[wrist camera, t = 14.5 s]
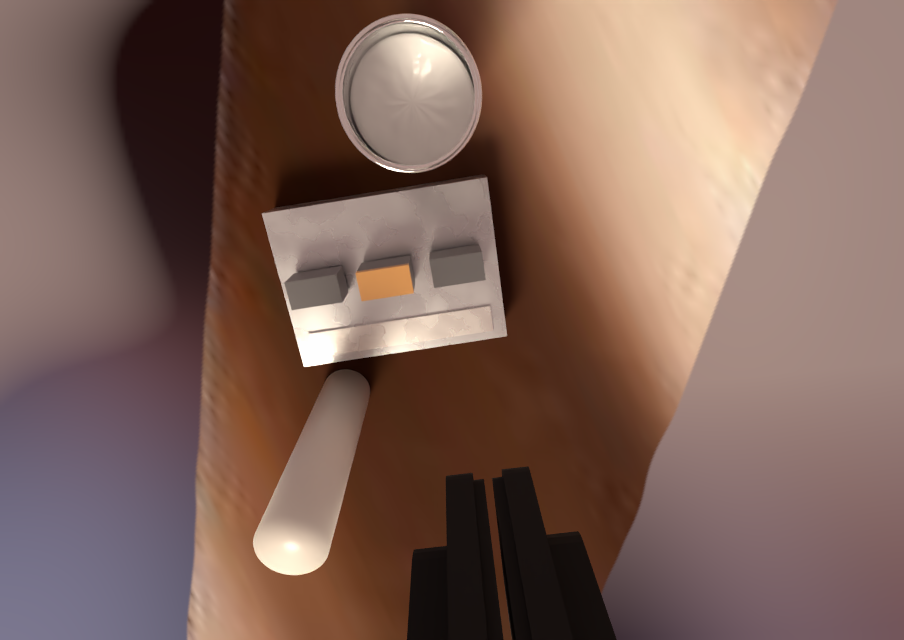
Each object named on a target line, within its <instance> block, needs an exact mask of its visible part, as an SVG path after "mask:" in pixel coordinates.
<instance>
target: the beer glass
mask: <svg viewBox="0 0 904 640" xmlns="http://www.w3.org/2000/svg"><path fill="white" fill-rule="evenodd" d="M335 98H336V106H337V111H338V115H339V118H340V121H341V123H342V126H343V128H344V130H345V132H346V134H347V135H348V137H349V139H350V140H351V141H352V143H353V144H354V145H355V146H356V148H357V149H358V150H359V151H360V152H361V153H362V154H363V155H365V156H366V157H367V158H368V159H370V160H371V161H373V162H374V163H376V164H378V165H380V166H382V167H384V168H386V169H389V170H393V171H397V172H403V173H420V172H427V171H431V170H434V169H437V168H439V167H441V166H443V165H445V164H447V163H448V162H450V161H451V160H453V159H454V158H455V157H456V156H457V155H458V154H459V153H460V152H461V151H462V150H463V149H464V148H465V146H466V145H467V144H468V142H469V141H470V139H471V137H472V135H473V133H474V131H475V129H476V126H477V123H478V120H479V116H480V112H481V105H482V86H481V79H480V75H479V71H478V68H477V65H476V63H475V60H474V58H473V56H472V54H471V52H470V51H469V49H468V48H467V46H466V45H465V43H464V42H463V41H462V40H461V39H460V37H459V36H458V35H457V34H456V33H454V32H453V31H452V30H451V29H450V28H448V27H447V26H445V25H444V24H442V23H441V22H439V21H437V20H434V19H432V18H429V17H426V16H423V15H418V14H395V15H390V16H387V17H384V18H381V19H379V20H377V21H375V22H373V23H371V24H370V25H368V26H367V27H365V28H364V29H363V30H362V31H361V32H359V33H358V34H357V35H356V37H355V38H354V39H353V40H352V41H351V43H350V44H349V46H348V47H347V49H346V50H345V52H344V54H343V56H342V59H341V61H340V64H339V67H338V71H337V76H336V84H335Z"/></svg>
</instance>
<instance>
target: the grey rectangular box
mask: <svg viewBox="0 0 904 640" xmlns="http://www.w3.org/2000/svg"><path fill="white" fill-rule="evenodd" d="M284 284H285V288H286V291H287V295H288V299H289V302H290V306H291V309H292V310H297V309H303V308H309V307H316V306H322V305H329V304H335V303H342V302H343V301H344V299H345V297H346V296H347V294H348V287H347V283H346V279H345V274H344V270H343V266H338V267H332V268H325V269H319V270H313V271H306V272H300V273H294V274H293V275H292V276H291V277H290V278H289V279H288V280H287V281H285V282H284Z"/></svg>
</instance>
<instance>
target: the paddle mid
mask: <svg viewBox="0 0 904 640" xmlns="http://www.w3.org/2000/svg"><path fill="white" fill-rule="evenodd" d="M355 274H356V278H357V283H358V287H359V292H360V296H361V301H368V300H374V299H381V298H387V297H393V296H400V295H406V294H413V293H414V288H415V277H414V271H413V266H412V260H411V255H408V256H402V257H395V258H389V259H383V260H376V261H370V262H364V263H361V265H360V266H359V268H358V270H357V271H356V273H355Z"/></svg>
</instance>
